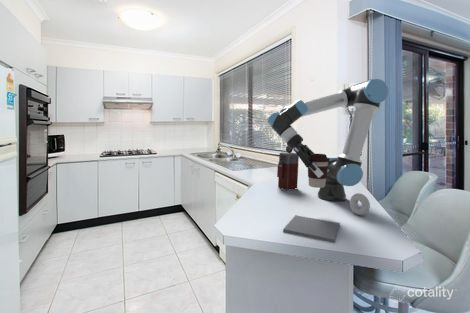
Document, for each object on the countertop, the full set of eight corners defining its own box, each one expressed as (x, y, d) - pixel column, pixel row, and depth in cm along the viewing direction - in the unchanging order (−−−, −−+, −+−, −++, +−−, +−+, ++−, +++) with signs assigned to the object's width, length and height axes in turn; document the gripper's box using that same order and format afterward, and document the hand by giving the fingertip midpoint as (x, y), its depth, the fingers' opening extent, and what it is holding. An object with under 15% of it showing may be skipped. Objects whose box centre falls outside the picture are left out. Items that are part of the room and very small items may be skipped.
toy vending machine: (275, 187, 168) (276, 145, 165) (287, 186, 174) (289, 145, 171) (284, 190, 160) (286, 146, 157) (297, 188, 166) (299, 146, 163)
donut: (370, 218, 112) (372, 196, 111) (365, 219, 111) (366, 196, 110) (353, 211, 121) (354, 190, 120) (347, 212, 120) (348, 191, 119)
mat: (295, 217, 111) (295, 215, 111) (339, 225, 103) (339, 223, 103) (283, 231, 95) (283, 229, 95) (334, 242, 87) (334, 239, 87)
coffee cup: (320, 189, 111) (321, 155, 110) (301, 185, 119) (302, 153, 117) (332, 186, 117) (333, 154, 116) (313, 183, 125) (314, 152, 123)
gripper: (294, 143, 134) (324, 175, 127) (277, 145, 115) (311, 183, 108) (304, 133, 130) (335, 166, 123) (289, 133, 112) (324, 172, 105)
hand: (324, 174), depth 116 cm, fingers closed on coffee cup, 10 cm apart
